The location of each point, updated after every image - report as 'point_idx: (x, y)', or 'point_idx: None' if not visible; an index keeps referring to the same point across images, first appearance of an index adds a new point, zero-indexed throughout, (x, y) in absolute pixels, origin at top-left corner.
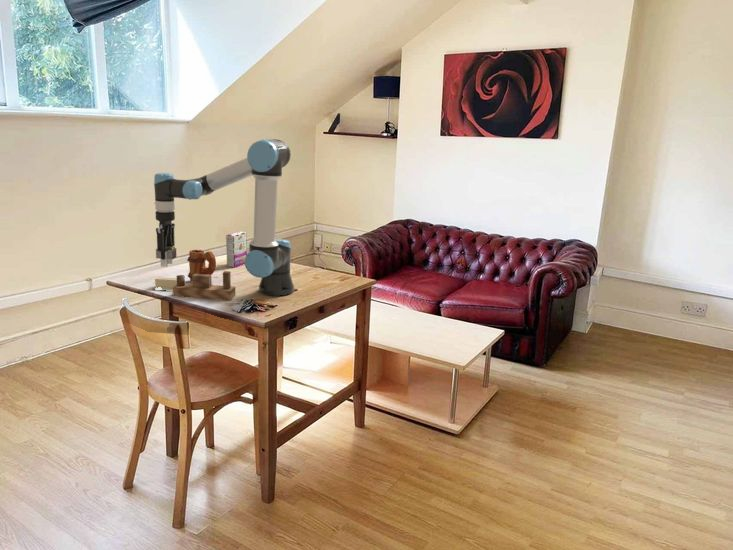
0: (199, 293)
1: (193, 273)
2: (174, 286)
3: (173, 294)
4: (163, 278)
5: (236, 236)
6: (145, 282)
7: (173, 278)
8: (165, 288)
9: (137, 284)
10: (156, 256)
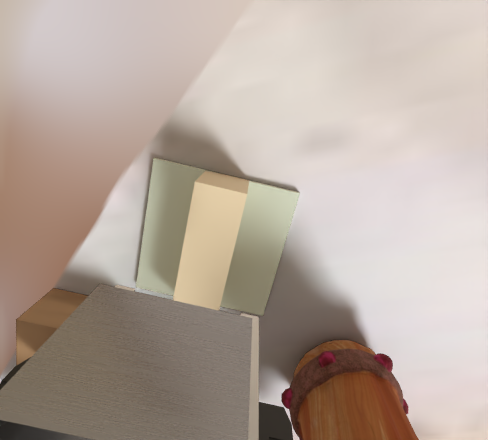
0: None
1: (309, 400)
2: (34, 325)
3: (45, 296)
4: (210, 237)
5: None
6: (342, 72)
7: (215, 297)
8: (176, 233)
9: (290, 22)
10: (86, 304)
